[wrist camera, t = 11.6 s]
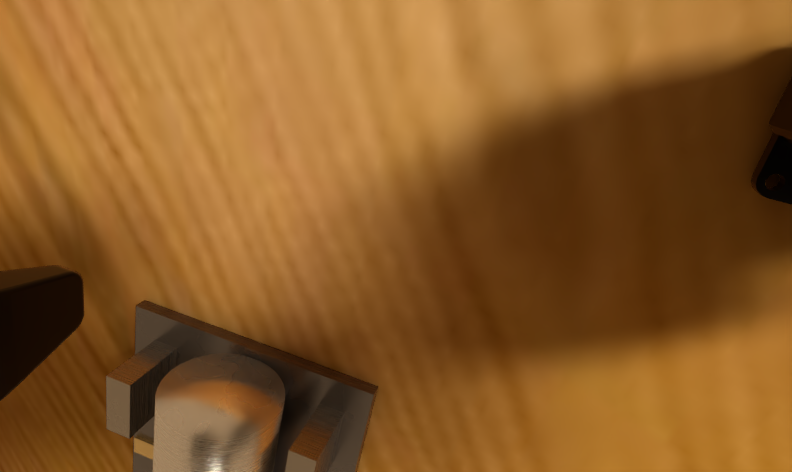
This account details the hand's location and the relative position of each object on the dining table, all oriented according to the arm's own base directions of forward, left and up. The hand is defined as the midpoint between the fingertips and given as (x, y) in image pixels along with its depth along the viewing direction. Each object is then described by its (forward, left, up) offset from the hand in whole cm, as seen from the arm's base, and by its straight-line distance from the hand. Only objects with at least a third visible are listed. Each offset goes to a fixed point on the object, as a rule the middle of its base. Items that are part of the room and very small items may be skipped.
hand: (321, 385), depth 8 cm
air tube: (+7, +18, -11) cm, 22 cm away
